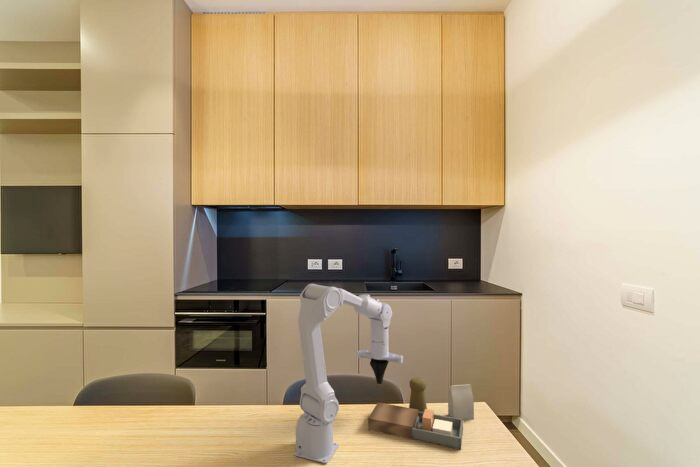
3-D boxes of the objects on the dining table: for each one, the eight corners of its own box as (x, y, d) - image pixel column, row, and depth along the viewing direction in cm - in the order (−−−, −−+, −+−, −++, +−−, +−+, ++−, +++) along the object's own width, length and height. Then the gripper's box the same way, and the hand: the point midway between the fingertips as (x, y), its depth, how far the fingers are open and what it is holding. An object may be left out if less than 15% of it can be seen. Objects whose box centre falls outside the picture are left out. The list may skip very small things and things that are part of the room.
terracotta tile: (422, 417, 97) (431, 418, 96) (425, 408, 102) (433, 410, 101) (422, 434, 97) (431, 436, 96) (425, 425, 102) (433, 427, 101)
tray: (412, 439, 96) (412, 428, 96) (418, 421, 105) (418, 411, 105) (460, 449, 91) (460, 438, 91) (463, 429, 100) (462, 419, 100)
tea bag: (473, 419, 106) (473, 387, 106) (453, 421, 105) (453, 388, 105) (468, 413, 109) (467, 381, 109) (448, 414, 108) (447, 383, 108)
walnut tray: (368, 430, 100) (368, 418, 100) (378, 413, 110) (377, 402, 110) (412, 439, 96) (412, 426, 96) (418, 421, 105) (418, 409, 105)
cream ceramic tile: (450, 431, 94) (451, 440, 94) (452, 422, 99) (452, 430, 99) (432, 427, 96) (432, 436, 96) (434, 418, 101) (434, 427, 101)
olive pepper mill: (427, 419, 106) (427, 383, 106) (408, 417, 107) (407, 382, 107) (427, 409, 112) (427, 375, 112) (408, 407, 113) (408, 374, 113)
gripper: (404, 338, 109) (405, 380, 109) (362, 334, 115) (362, 374, 115) (399, 345, 103) (400, 390, 103) (354, 340, 108) (355, 383, 108)
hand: (379, 382), depth 108 cm, fingers closed
